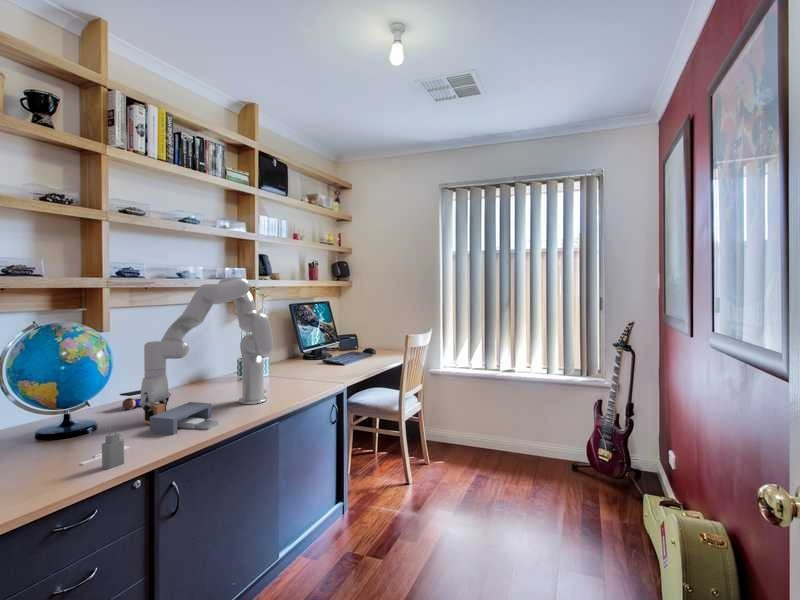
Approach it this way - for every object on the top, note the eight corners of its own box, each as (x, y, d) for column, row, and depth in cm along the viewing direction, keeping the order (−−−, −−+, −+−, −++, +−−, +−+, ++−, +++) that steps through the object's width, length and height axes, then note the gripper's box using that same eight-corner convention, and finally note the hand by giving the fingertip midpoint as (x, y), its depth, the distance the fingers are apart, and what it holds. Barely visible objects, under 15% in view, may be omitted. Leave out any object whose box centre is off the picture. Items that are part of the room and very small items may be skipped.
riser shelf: (190, 415, 186) (189, 401, 185) (211, 417, 184) (211, 403, 183) (149, 432, 164) (149, 417, 164) (173, 434, 162) (173, 419, 162)
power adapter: (125, 463, 136) (125, 424, 136) (107, 469, 131) (107, 429, 131) (118, 461, 137) (118, 422, 137) (100, 467, 132) (100, 427, 132)
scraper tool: (154, 419, 180) (153, 402, 180) (204, 423, 175) (204, 406, 175) (142, 424, 174) (142, 406, 174) (194, 428, 169) (194, 410, 169)
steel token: (204, 424, 175) (204, 419, 175) (218, 425, 174) (218, 420, 174) (194, 429, 169) (194, 424, 169) (208, 430, 168) (208, 425, 168)
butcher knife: (72, 463, 136) (72, 460, 136) (119, 447, 150) (119, 444, 150) (83, 466, 134) (83, 462, 134) (130, 449, 148) (130, 446, 148)
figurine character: (147, 404, 207) (117, 409, 193) (149, 388, 208) (119, 391, 193) (159, 406, 205) (129, 411, 190) (160, 389, 205) (130, 393, 191)
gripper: (163, 368, 185) (163, 411, 186) (129, 376, 168) (130, 423, 169) (178, 369, 183) (179, 412, 184) (146, 377, 166) (147, 425, 167)
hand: (155, 417), depth 176 cm, fingers open, 6 cm apart
